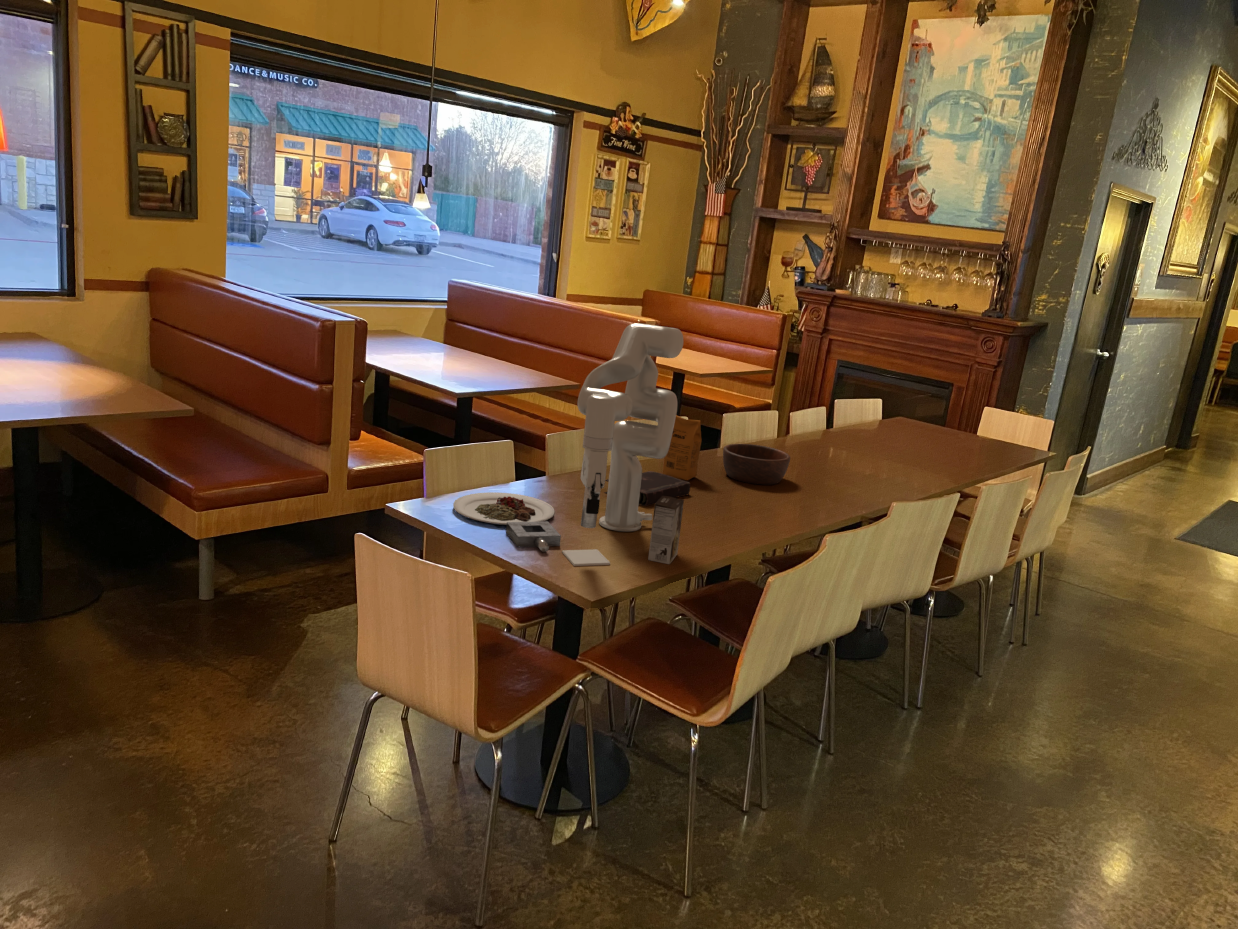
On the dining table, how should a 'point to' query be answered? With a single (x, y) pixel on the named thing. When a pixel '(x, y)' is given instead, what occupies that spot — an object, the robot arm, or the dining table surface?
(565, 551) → the pad
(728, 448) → the wooden bowl
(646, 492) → the diary
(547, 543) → the chuck block
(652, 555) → the coffee box
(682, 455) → the coffee package
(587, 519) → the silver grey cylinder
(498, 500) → the plated food
